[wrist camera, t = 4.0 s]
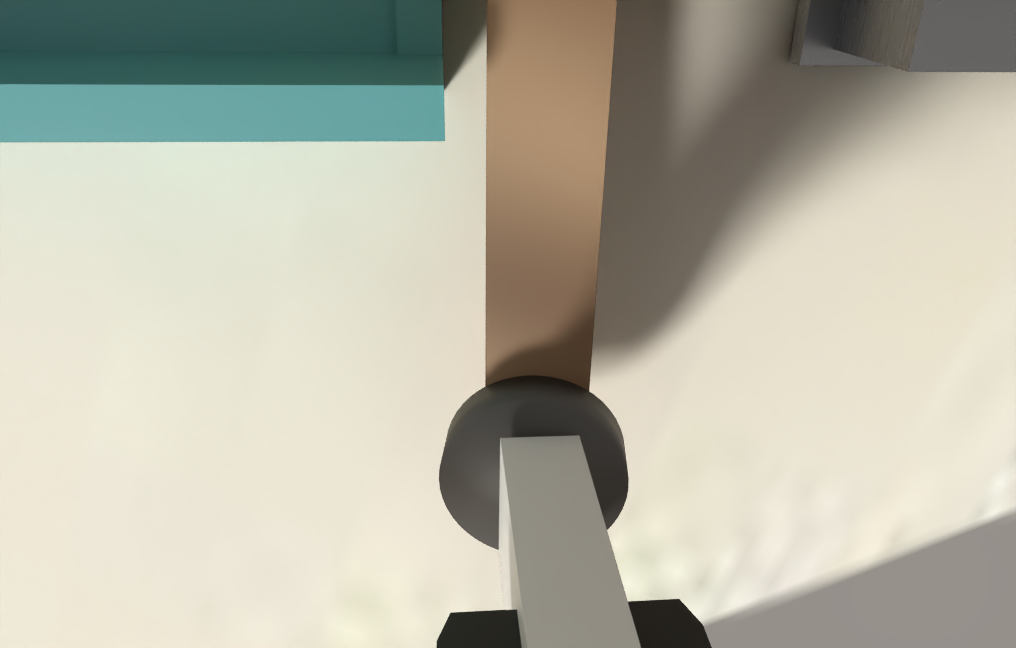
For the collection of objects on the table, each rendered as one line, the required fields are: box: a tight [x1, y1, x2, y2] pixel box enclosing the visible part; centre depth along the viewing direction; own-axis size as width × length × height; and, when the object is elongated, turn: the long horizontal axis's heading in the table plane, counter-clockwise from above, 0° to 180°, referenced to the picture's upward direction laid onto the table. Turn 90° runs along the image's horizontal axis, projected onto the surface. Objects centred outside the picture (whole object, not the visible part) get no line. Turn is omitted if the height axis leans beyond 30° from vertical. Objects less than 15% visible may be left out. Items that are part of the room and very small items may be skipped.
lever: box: [439, 0, 628, 550], centre depth 13 cm, size 17×17×4 cm
